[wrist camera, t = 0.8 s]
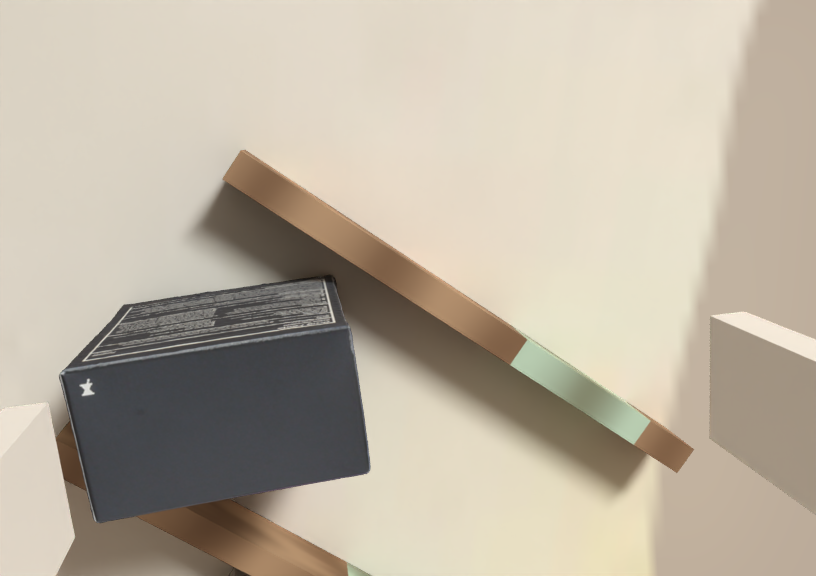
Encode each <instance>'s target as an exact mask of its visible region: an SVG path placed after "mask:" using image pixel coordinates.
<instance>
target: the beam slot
mask: <svg viewBox="0 0 816 576" xmlns="http://www.w3.org/2000/svg"><path fill="white" fill-rule="evenodd" d="M223 180H224V181H226V182H227V183H229V184H230V185H232V186H233V187H235V188H237V189H238V190H240V191H241V192H243V193H244V194H246V195H247V196H249V197H250V198H252V199H254V200H255V201H257V202H258V203H260V204H261V205H263V206H264V207H266V208H268V209H269V210H271V211H272V212H274V213H275V214H277V215H278V216H280V217H281V218H283V219H285V220H286V221H288V222H289V223H291V224H292V225H294V226H295V227H297V228H298V229H300V230H302V231H303V232H305V233H306V234H308V235H309V236H311V237H312V238H314V239H316V240H317V241H319V242H320V243H322V244H323V245H325V246H326V247H328V248H329V249H331V250H333V251H334V252H336V253H337V254H339V255H340V256H342V257H343V258H345V259H347V260H348V261H350V262H351V263H353V264H354V265H356V266H357V267H359V268H360V269H362V270H364V271H365V272H367V273H368V274H370V275H371V276H373V277H374V278H376V279H377V280H379V281H381V282H382V283H384V284H385V285H387V286H388V287H390V288H391V289H393V290H395V291H396V292H398V293H399V294H401V295H402V296H404V297H405V298H407V299H408V300H410V301H412V302H413V303H415V304H416V305H418V306H419V307H421V308H422V309H424V310H426V311H427V312H429V313H430V314H432V315H433V316H435V317H436V318H438V319H439V320H441V321H443V322H444V323H446V324H447V325H449V326H450V327H452V328H453V329H455V330H456V331H458V332H460V333H461V334H463V335H464V336H466V337H467V338H469V339H470V340H472V341H474V342H475V343H477V344H478V345H480V346H481V347H483V348H484V349H486V350H487V351H489V352H491V353H492V354H494V355H495V356H497V357H498V358H500V359H501V360H503V361H505V362H506V363H508V364H509V365H511V366H512V367H514V368H515V369H517V370H518V371H520V372H522V373H523V374H525V375H526V376H528V377H529V378H531V379H532V380H534V381H535V382H537V383H539V384H540V385H542V386H543V387H545V388H546V389H548V390H549V391H551V392H553V393H554V394H556V395H557V396H559V397H560V398H562V399H563V400H565V401H566V402H568V403H570V404H571V405H573V406H574V407H576V408H577V409H579V410H580V411H582V412H584V413H585V414H587V415H588V416H590V417H591V418H593V419H594V420H596V421H597V422H599V423H601V424H602V425H604V426H605V427H607V428H608V429H610V430H611V431H613V432H614V433H616V434H618V435H619V436H621V437H622V438H624V439H625V440H627V441H628V442H630V443H632V444H633V445H635V446H636V447H638V448H639V449H641V450H642V451H644V452H645V453H647V454H649V455H650V456H652V457H653V458H655V459H656V460H658V461H659V462H661V463H663V464H664V465H666V466H667V467H669V468H670V469H672V470H673V471H675V472H676V473H677V472H678V471H679V470H680V468H681V467H682V465H683V464H684V463H685V461H686V460H687V458H688V457H689V456H690V454H691V453H692V452H693V450H694V449H693V448H691V447H690V446H689V445H688V444H686V443H685V442H684V441H682V440H681V439H680V438H678V437H677V436H676V435H674V434H673V433H672V432H671V431H669V430H668V429H667V428H665V427H664V426H662V425H661V424H659V423H658V422H656V421H655V420H653V419H652V418H650V417H649V416H647V415H646V414H644V413H643V412H641V411H640V410H638V409H636V408H635V407H633V406H632V405H630V404H629V403H627V402H626V401H624V400H623V399H621V398H620V397H618V396H617V395H615V394H614V393H612V392H611V391H609V390H608V389H606V388H605V387H603V386H602V385H600V384H599V383H597V382H596V381H594V380H593V379H591V378H590V377H588V376H587V375H585V374H584V373H582V372H580V371H579V370H577V369H576V368H574V367H573V366H571V365H570V364H568V363H567V362H565V361H564V360H562V359H561V358H559V357H558V356H556V355H555V354H553V353H552V352H550V351H549V350H547V349H546V348H544V347H543V346H541V345H540V344H538V343H537V342H535V341H534V340H532V339H531V338H529V337H528V336H526V335H524V334H523V333H521V332H520V331H518V330H517V329H515V328H514V327H512V326H511V325H509V324H508V323H506V322H505V321H503V320H502V319H500V318H499V317H497V316H496V315H494V314H493V313H491V312H490V311H488V310H487V309H485V308H484V307H482V306H481V305H479V304H478V303H476V302H475V301H473V300H472V299H470V298H468V297H467V296H465V295H464V294H462V293H461V292H459V291H458V290H456V289H455V288H453V287H452V286H450V285H449V284H447V283H446V282H444V281H443V280H441V279H440V278H438V277H437V276H435V275H434V274H432V273H431V272H429V271H428V270H426V269H425V268H423V267H422V266H420V265H419V264H417V263H416V262H414V261H412V260H411V259H409V258H408V257H406V256H405V255H403V254H402V253H400V252H399V251H397V250H396V249H394V248H393V247H391V246H390V245H388V244H387V243H385V242H384V241H382V240H381V239H379V238H378V237H376V236H375V235H373V234H372V233H370V232H369V231H367V230H366V229H364V228H363V227H361V226H360V225H358V224H356V223H355V222H353V221H352V220H350V219H349V218H347V217H346V216H344V215H343V214H341V213H340V212H338V211H337V210H335V209H334V208H332V207H331V206H329V205H328V204H326V203H325V202H323V201H322V200H320V199H319V198H317V197H316V196H314V195H313V194H311V193H310V192H308V191H307V190H305V189H304V188H302V187H300V186H299V185H297V184H296V183H294V182H293V181H291V180H290V179H288V178H287V177H285V176H284V175H282V174H281V173H279V172H278V171H276V170H275V169H273V168H272V167H270V166H269V165H267V164H266V163H264V162H263V161H261V160H260V159H258V158H257V157H255V156H254V155H252V154H251V153H249V152H248V151H246V150H241V151H240V153H239V154H238V156H237V157H236V159H235V160H234V162H233V163H232V165H231V167H230V168H229V170H228V171H227V173H226V174H225V176H224V177H223ZM56 444H57V449H58V454H59V459H60V464H61V469H62V474H63V479H64V480H66V481H68V482H70V483H72V484H74V485H76V486H78V487H80V488H82V489H84V490H86V485H85V481H84V478H83V472H82V469H81V464H80V461H79V456H78V452H77V447H76V443H75V439H74V435H73V432H72V427H71V423H70V421H69V423H68V424H67V425H66V426H65V428H64V429H63V430H62V431H61V432H60V434H59V435H58V436H57V437H56ZM86 491H87V490H86ZM136 517H138V518H140V519H142V520H144V521H146V522H148V523H150V524H152V525H154V526H155V527H157V528H159V529H161V530H163V531H165V532H167V533H169V534H171V535H173V536H175V537H177V538H179V539H181V540H183V541H185V542H187V543H188V544H190V545H192V546H194V547H196V548H198V549H200V550H202V551H204V552H206V553H208V554H210V555H212V556H214V557H216V558H218V559H219V560H221V561H223V562H225V563H227V564H229V565H231V566H233V567H235V568H237V569H239V570H241V571H243V572H245V573H247V574H249V575H251V576H371V575H369V574H368V573H366V572H364V571H362V570H360V569H358V568H356V567H355V566H353V565H351V564H349V563H347V562H345V561H343V560H341V559H340V558H338V557H336V556H334V555H332V554H330V553H328V552H327V551H325V550H323V549H321V548H319V547H317V546H315V545H314V544H312V543H310V542H308V541H306V540H304V539H302V538H301V537H299V536H297V535H295V534H293V533H291V532H289V531H288V530H286V529H284V528H282V527H280V526H278V525H276V524H275V523H273V522H271V521H269V520H267V519H265V518H263V517H262V516H260V515H258V514H256V513H254V512H252V511H250V510H249V509H247V508H245V507H243V506H241V505H239V504H237V503H236V502H234V501H232V500H230V499H225V500H219V501H214V502H209V503H203V504H198V505H193V506H187V507H182V508H177V509H171V510H166V511H161V512H156V513H150V514H145V515H140V516H136Z"/></svg>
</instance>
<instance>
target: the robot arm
mask: <svg viewBox="0 0 816 576" xmlns="http://www.w3.org/2000/svg"><path fill="white" fill-rule="evenodd" d="M709 431H710V434H709V438H710V439H711V440H712V441H714V442H715V443H716V444H718V445H719V446H721V447H722V448H723V449H725V450H726V451H728V452H729V453H730V454H732V455H733V456H734V457H736V458H737V459H739V460H740V461H741V462H743V463H744V464H746V465H747V466H748V467H750V468H751V469H752V470H754V471H755V472H757V473H758V474H759V475H761V476H762V477H764V478H765V479H766V480H768V481H769V482H771V483H772V484H773V485H775V486H776V487H778V488H779V489H780V490H782V491H783V492H784V493H786V494H787V495H789V496H790V497H791V498H793V499H794V500H796V501H797V502H798V503H800V504H801V505H803V506H804V507H805V508H807V509H808V510H809V511H811V512H812V513H814V514H815V515H816V340H815V339H813V338H810V337H808V336H805V335H802V334H800V333H798V332H795V331H793V330H790V329H787V328H785V327H782V326H780V325H777V324H775V323H772V322H770V321H767V320H764V319H762V318H759V317H757V316H754V315H752V314H749V313H746V312H736V313H728V314H721V315H713V316H710V430H709ZM74 539H75V534H74V529H73V524H72V519H71V514H70V509H69V504H68V499H67V494H66V489H65V484H64V479H63V474H62V469H61V464H60V459H59V454H58V449H57V444H56V439H55V434H54V429H53V423H52V418H51V413H50V408H49V403H48V402H45V403H37V404H30V405H22V406H14V407H6V408H3V409H2V410H1V411H0V576H56V575H57V573H58V571H59V569H60V567H61V565H62V563H63V561H64V559H65V557H66V555H67V553H68V551H69V549H70V547H71V545H72V543H73V541H74Z"/></svg>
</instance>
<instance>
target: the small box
mask: <svg viewBox="0 0 816 576" xmlns="http://www.w3.org/2000/svg"><path fill="white" fill-rule="evenodd" d="M345 320H346V319H345V317H344V314H343V311H342V306H341V303H340V300H339V297H338V293H337V287H336V280H335V278H334V277H333V276H332V275H326V276H321V277H312V278H304V279H298V280H291V281H284V282H278V283H270V284H262V285H257V286H250V287H243V288H236V289H229V290H221V291H215V292H205V293H200V294H194V295H187V296H181V297H173V298H166V299H161V300H154V301H148V302H142V303H136V304H127V305H123V306H122V308H121V309H120V310H119V311H118V312H117V314H116V315H115V317H114V318H113V319H112V320H111V321H110V323H108V324H107V325H106V327H104V329H103V330H102V331H101V332H100V333H99V334H98V335H97V336H96V337H95V338H94V339H93V340H92V341H91V342H90V343H89V344H88V345H87V346H86V347H85V348H84V349H83V350H82V351H81V352H80V353H79V354H78V356H77V357H76V358H75V359H74V360H73V361H72V362H71V363H70V364H69V365H68V366H67V367H66V368H65V369H64V370H63V371H62V372H61V373H60V374H59V379H60V382H61V386H62V389H63V393H64V398H65V401H66V405H67V410H68V414H69V418H70V423H71V427H72V432H73V435H74V439H75V443H76V447H77V452H78V456H79V461H80V464H81V469H82V472H83V478H84V481H85V485H86V490H87V494H88V499H89V502H90V507H91V511H92V515H93V519H94V521H95V522H96V523H103V522H107V521H113V520H118V519H124V518H129V517H135V516H140V515H145V514H150V513H156V512H161V511H166V510H171V509H177V508H182V507H187V506H193V505H198V504H203V503H209V502H214V501H219V500H225V499H230V498H235V497H240V496H246V495H252V494H258V493H263V492H269V491H274V490H280V489H285V488H291V487H296V486H301V485H307V484H313V483H318V482H324V481H330V480H335V479H340V478H346V477H352V476H358V475H363V474H367V473H369V471H370V457H369V449H368V441H367V434H366V427H365V419H364V411H363V405H362V399H361V392H360V385H359V378H358V372H357V365H356V358H355V352H354V346H353V338H352V333H351V329H350V326H349V325H348V323H347V321H345Z"/></svg>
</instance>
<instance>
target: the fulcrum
mask: <svg viewBox="0 0 816 576" xmlns="http://www.w3.org/2000/svg"><path fill="white" fill-rule="evenodd" d="M229 576H251V575H249V574H247V573H245V572H243V571H241V570H239V569H237V568H235V567H234V569H233V570H232V572H231V573H230V575H229Z"/></svg>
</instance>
